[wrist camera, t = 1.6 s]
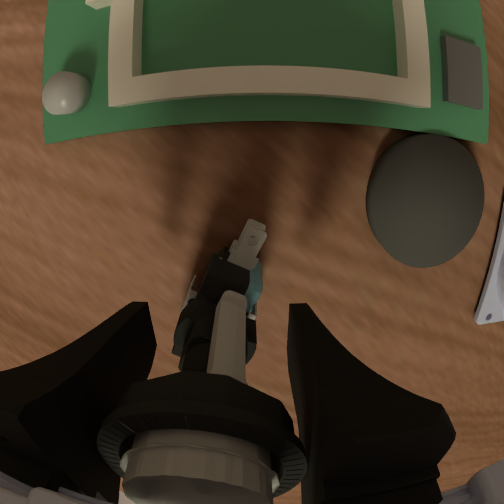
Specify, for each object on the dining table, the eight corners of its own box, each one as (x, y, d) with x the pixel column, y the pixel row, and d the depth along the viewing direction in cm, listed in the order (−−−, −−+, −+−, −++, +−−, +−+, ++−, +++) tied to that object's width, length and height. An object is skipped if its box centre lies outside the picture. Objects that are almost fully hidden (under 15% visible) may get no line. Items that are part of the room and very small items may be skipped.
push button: (200, 192, 13) (100, 368, 4) (314, 243, 14) (404, 445, 5) (151, 314, 15) (83, 497, 6) (249, 351, 16) (251, 538, 7)
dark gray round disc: (476, 142, 12) (490, 145, 11) (459, 256, 14) (471, 266, 13) (366, 125, 12) (376, 126, 11) (357, 257, 14) (364, 268, 13)
